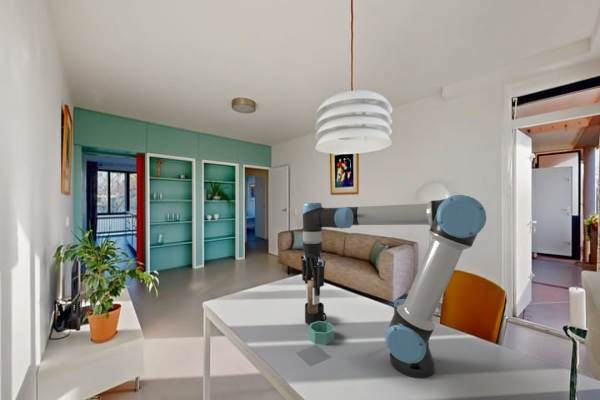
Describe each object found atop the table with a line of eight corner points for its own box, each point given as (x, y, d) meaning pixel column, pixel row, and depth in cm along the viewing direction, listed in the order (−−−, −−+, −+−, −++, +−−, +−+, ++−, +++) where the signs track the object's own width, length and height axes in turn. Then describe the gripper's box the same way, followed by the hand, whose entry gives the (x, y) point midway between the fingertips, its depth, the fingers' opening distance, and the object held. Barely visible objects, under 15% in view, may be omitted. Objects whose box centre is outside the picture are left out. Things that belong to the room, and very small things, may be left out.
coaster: (331, 359, 97) (331, 356, 97) (310, 368, 92) (310, 366, 92) (315, 346, 106) (315, 344, 106) (295, 354, 100) (295, 352, 100)
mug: (320, 331, 118) (320, 311, 118) (301, 323, 126) (301, 305, 126) (331, 324, 125) (331, 305, 126) (312, 317, 133) (312, 299, 133)
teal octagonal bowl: (338, 341, 110) (338, 328, 110) (319, 349, 104) (319, 335, 104) (323, 331, 118) (323, 319, 118) (304, 337, 113) (304, 325, 113)
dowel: (319, 312, 98) (319, 281, 99) (311, 314, 96) (311, 283, 96) (313, 308, 102) (313, 278, 102) (305, 311, 100) (305, 280, 100)
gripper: (333, 243, 94) (334, 306, 94) (308, 238, 108) (308, 293, 108) (317, 245, 90) (318, 311, 90) (293, 240, 104) (293, 297, 104)
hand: (312, 301), depth 99 cm, fingers closed on dowel, 4 cm apart
